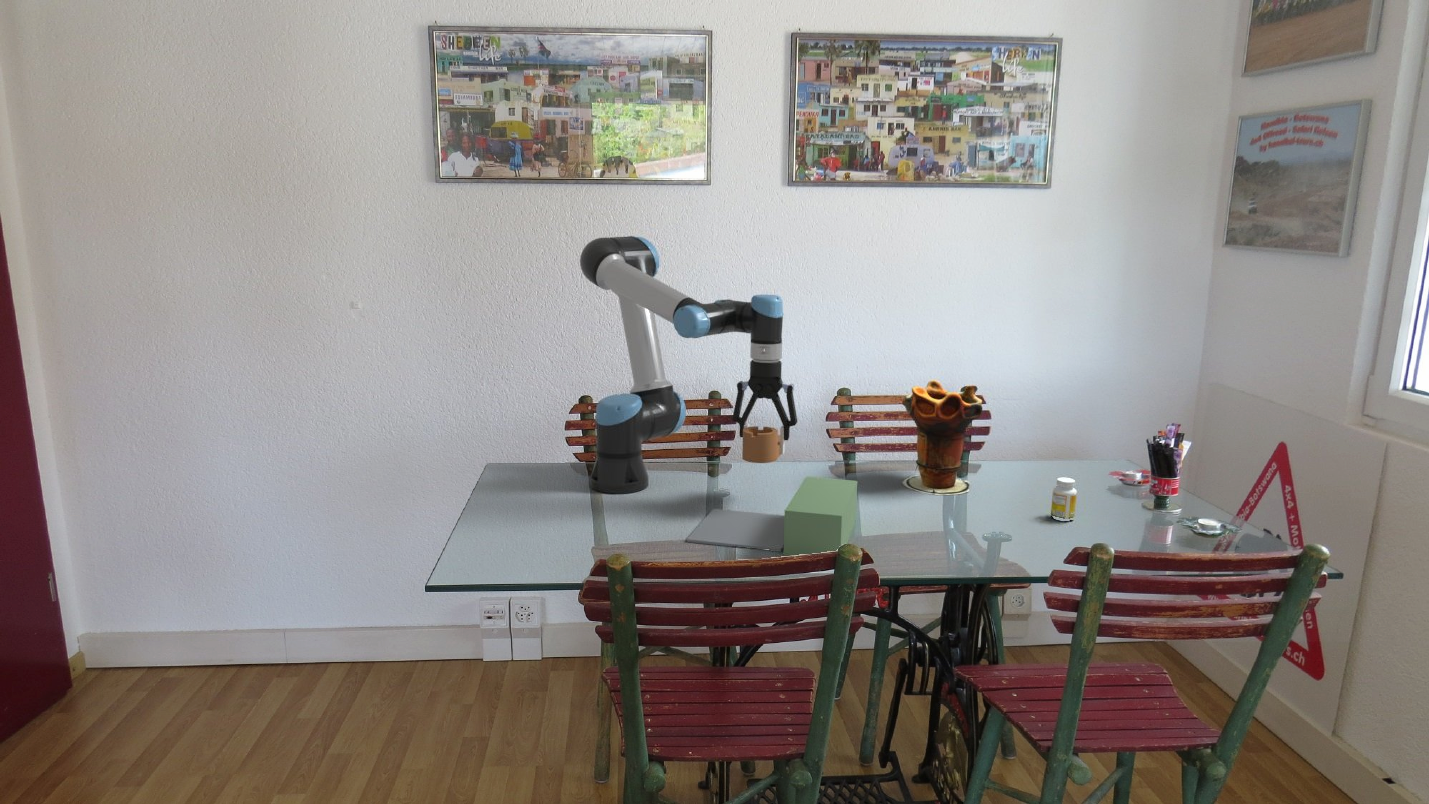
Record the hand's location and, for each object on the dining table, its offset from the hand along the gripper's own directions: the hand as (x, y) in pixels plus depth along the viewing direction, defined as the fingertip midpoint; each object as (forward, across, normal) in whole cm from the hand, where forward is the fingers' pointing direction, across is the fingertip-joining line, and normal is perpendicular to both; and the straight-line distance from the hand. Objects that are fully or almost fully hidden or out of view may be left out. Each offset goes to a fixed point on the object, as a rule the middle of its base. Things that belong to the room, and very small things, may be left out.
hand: (764, 451), depth 235 cm
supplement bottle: (+14, +71, +8) cm, 73 cm away
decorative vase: (+14, +42, +28) cm, 52 cm away
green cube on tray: (+13, +6, -20) cm, 25 cm away
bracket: (+1, 0, 0) cm, 1 cm away
